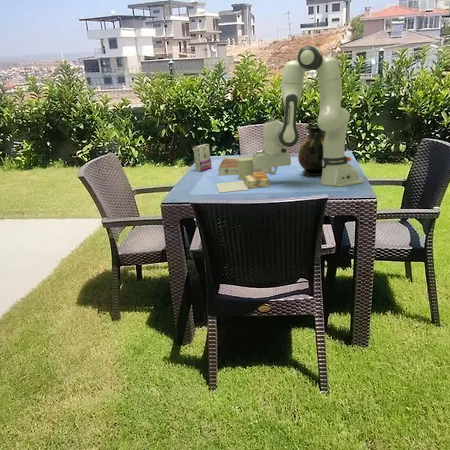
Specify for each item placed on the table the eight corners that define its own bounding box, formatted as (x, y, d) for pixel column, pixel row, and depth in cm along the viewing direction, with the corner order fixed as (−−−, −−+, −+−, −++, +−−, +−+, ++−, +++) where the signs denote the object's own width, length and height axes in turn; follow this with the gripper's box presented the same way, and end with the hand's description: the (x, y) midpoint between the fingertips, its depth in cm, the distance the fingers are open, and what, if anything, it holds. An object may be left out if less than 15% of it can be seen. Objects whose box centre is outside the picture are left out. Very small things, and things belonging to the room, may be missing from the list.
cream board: (243, 181, 256) (243, 180, 256) (248, 190, 237) (248, 189, 237) (215, 184, 255) (215, 183, 255) (219, 193, 236) (219, 192, 236)
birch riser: (264, 180, 254) (264, 173, 253) (269, 186, 241) (269, 179, 240) (244, 182, 253) (243, 176, 252) (247, 188, 240) (247, 181, 239)
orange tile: (263, 175, 250) (263, 171, 250) (266, 178, 242) (266, 174, 241) (253, 176, 250) (252, 172, 249) (255, 179, 241) (255, 176, 241)
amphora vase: (336, 177, 248) (336, 127, 239) (297, 178, 253) (296, 129, 244) (335, 169, 268) (335, 122, 259) (299, 170, 273) (298, 124, 263)
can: (240, 180, 259) (239, 160, 255) (237, 177, 267) (235, 157, 263) (255, 178, 260) (254, 158, 256) (251, 175, 269) (250, 156, 265)
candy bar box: (206, 168, 300) (203, 143, 295) (211, 168, 298) (209, 144, 292) (195, 171, 292) (192, 146, 287) (200, 172, 289) (198, 147, 284)
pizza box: (218, 168, 274) (223, 158, 304) (219, 176, 276) (224, 165, 306) (270, 165, 270) (270, 155, 300) (270, 174, 272) (270, 163, 302)
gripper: (254, 152, 238) (255, 177, 243) (291, 149, 240) (291, 174, 244) (252, 150, 244) (253, 175, 248) (288, 147, 246) (289, 171, 250)
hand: (272, 174), depth 246 cm, fingers closed
